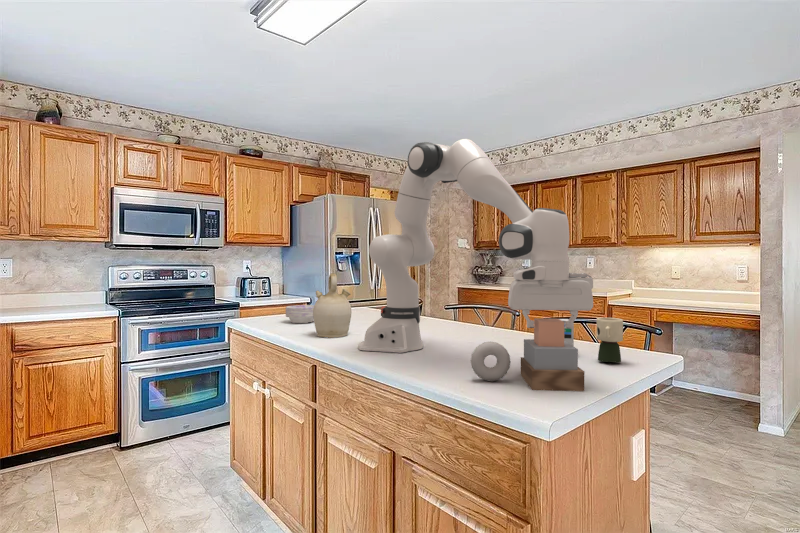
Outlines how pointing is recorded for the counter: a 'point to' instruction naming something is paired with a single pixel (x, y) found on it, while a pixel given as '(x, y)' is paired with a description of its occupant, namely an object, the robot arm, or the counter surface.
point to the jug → (332, 311)
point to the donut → (492, 372)
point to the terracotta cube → (549, 332)
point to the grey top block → (550, 356)
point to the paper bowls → (300, 313)
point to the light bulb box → (568, 333)
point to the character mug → (609, 339)
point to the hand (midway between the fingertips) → (549, 328)
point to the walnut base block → (552, 378)
